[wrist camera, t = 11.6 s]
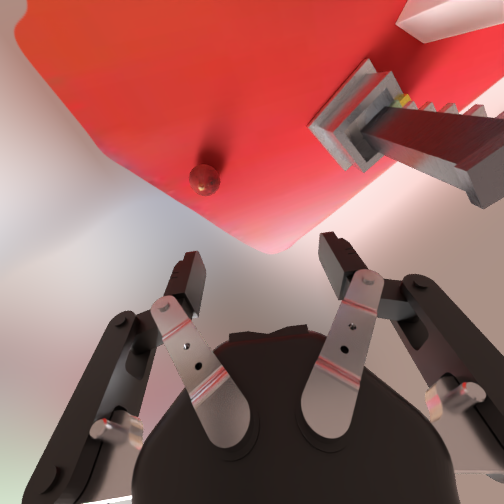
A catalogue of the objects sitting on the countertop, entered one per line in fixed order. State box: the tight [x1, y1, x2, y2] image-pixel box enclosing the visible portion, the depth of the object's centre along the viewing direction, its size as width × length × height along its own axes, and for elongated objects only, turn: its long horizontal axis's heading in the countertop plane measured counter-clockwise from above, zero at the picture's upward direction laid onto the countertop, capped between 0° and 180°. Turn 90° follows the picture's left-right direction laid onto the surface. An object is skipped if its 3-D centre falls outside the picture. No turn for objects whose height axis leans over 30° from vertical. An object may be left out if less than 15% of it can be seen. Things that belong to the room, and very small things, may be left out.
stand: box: [306, 58, 411, 173], centre depth 34 cm, size 12×12×10 cm
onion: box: [189, 164, 220, 196], centre depth 39 cm, size 6×6×8 cm
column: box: [360, 100, 504, 209], centre depth 23 cm, size 5×6×19 cm
